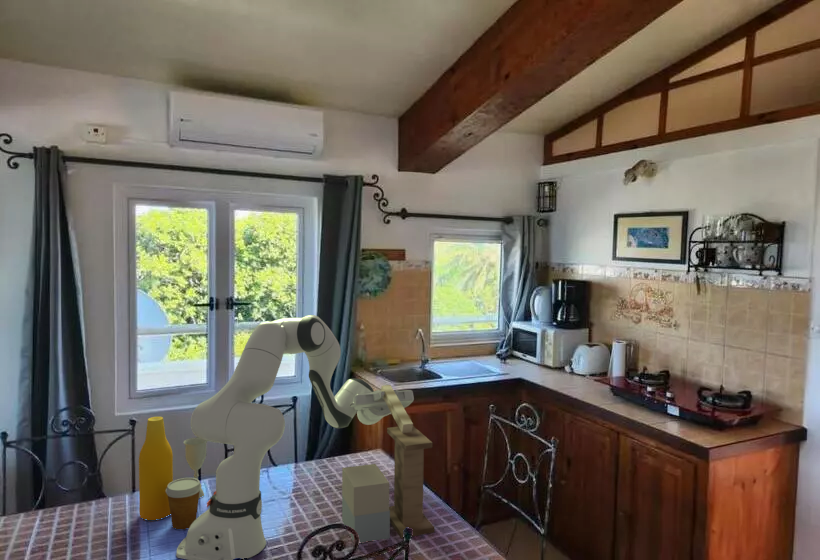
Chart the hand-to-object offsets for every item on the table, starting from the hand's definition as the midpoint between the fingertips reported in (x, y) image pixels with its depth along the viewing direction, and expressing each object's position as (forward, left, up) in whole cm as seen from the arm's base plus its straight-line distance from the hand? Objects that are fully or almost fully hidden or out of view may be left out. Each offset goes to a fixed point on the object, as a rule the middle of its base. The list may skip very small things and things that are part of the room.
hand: (389, 393), depth 177 cm
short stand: (+8, -17, -34) cm, 38 cm away
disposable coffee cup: (-56, -25, -34) cm, 70 cm away
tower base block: (-4, -22, -34) cm, 41 cm away
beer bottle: (-67, -20, -34) cm, 78 cm away
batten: (+3, -5, -4) cm, 7 cm away
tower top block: (-4, -22, -26) cm, 34 cm away
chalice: (-61, -7, -34) cm, 70 cm away
